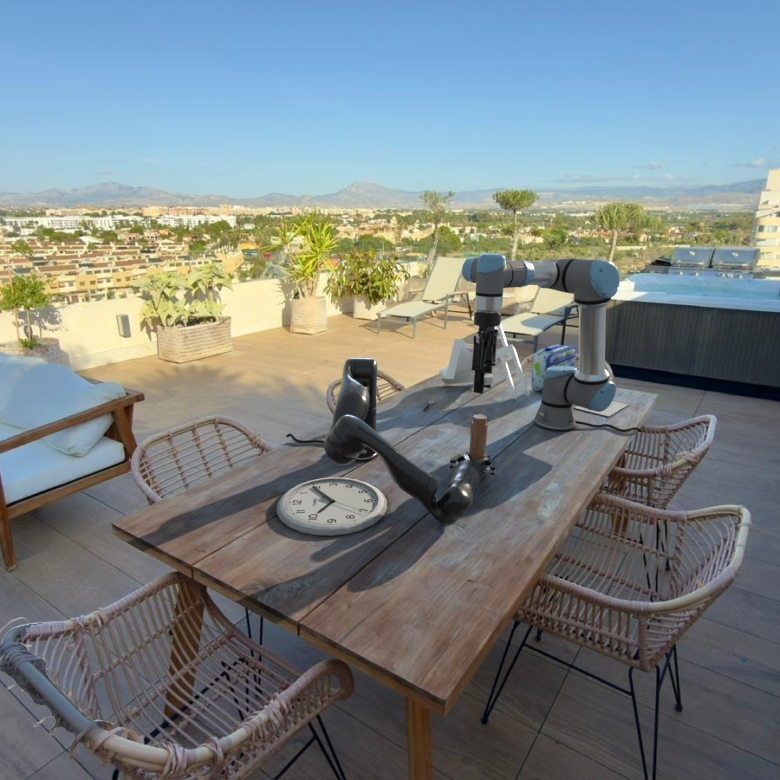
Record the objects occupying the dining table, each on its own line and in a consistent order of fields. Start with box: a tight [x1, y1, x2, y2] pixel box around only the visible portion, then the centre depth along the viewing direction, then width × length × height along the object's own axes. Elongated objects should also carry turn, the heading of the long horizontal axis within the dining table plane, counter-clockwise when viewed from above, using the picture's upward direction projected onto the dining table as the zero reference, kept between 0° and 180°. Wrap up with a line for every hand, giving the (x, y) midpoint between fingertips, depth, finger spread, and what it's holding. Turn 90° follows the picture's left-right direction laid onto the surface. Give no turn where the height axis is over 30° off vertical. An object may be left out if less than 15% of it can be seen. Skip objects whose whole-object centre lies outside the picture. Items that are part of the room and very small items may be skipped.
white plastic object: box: [438, 323, 531, 400], centre depth 245 cm, size 37×45×31 cm
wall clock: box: [276, 476, 388, 537], centre depth 142 cm, size 30×2×30 cm
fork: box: [422, 395, 437, 412], centre depth 223 cm, size 3×16×2 cm, turn 160°
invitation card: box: [573, 400, 629, 418], centre depth 226 cm, size 21×1×15 cm
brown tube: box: [468, 413, 489, 480], centre depth 158 cm, size 5×5×19 cm
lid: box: [472, 373, 494, 386], centre depth 152 cm, size 6×6×2 cm
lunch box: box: [530, 344, 577, 392], centre depth 247 cm, size 26×11×21 cm, turn 134°
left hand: (478, 454), depth 162 cm, fingers closed on brown tube, 5 cm apart
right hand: (482, 389), depth 153 cm, fingers closed on lid, 5 cm apart
